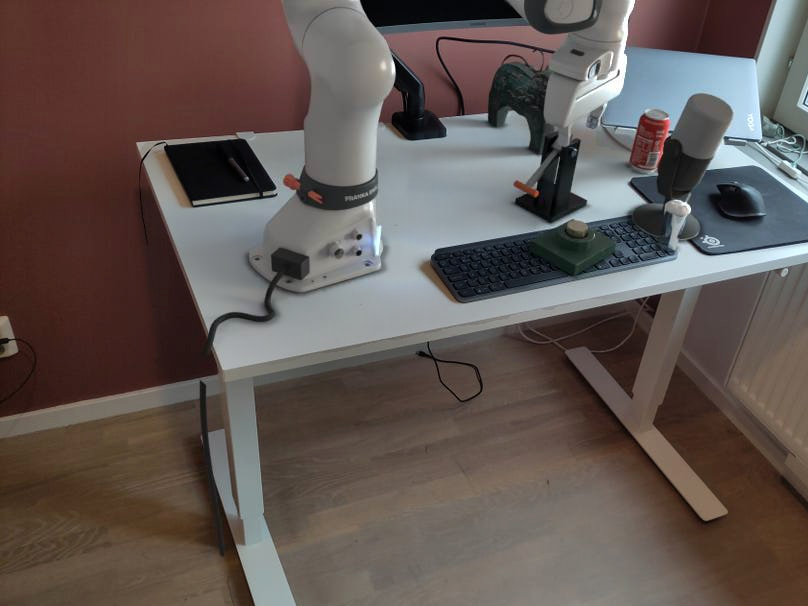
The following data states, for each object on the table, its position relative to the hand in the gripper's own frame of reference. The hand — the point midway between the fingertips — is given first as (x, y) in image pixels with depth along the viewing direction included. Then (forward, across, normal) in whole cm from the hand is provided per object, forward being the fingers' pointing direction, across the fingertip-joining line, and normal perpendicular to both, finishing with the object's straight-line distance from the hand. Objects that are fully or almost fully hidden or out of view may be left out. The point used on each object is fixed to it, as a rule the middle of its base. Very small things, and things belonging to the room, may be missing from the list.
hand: (578, 135), depth 135 cm
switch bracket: (+20, -11, -8) cm, 24 cm away
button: (+17, +1, +4) cm, 17 cm away
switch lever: (+12, -7, -8) cm, 16 cm away
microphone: (+21, -21, +12) cm, 32 cm away
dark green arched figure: (+21, -31, -28) cm, 47 cm away
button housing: (+20, +1, +4) cm, 21 cm away
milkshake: (+21, -13, +16) cm, 29 cm away
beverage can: (+21, -39, -2) cm, 44 cm away
